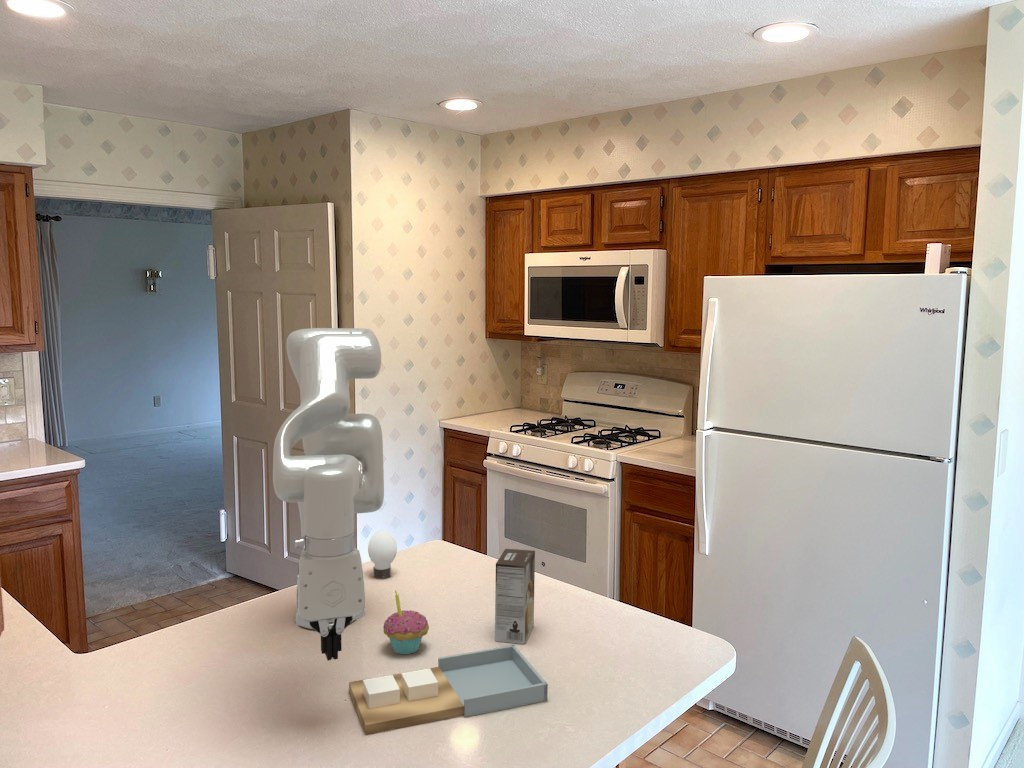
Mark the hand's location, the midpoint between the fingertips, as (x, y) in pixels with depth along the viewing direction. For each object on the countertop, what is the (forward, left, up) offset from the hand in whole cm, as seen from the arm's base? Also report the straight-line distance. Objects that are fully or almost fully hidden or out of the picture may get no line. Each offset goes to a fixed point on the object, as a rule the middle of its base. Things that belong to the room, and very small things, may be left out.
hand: (331, 656), depth 126 cm
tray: (-1, +27, -11) cm, 29 cm away
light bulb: (-58, +21, -11) cm, 62 cm away
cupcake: (-20, +17, -11) cm, 28 cm away
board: (-1, +12, -11) cm, 16 cm away
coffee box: (-19, +39, -11) cm, 45 cm away
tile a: (-1, +8, -9) cm, 12 cm away
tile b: (-1, +15, -9) cm, 17 cm away
